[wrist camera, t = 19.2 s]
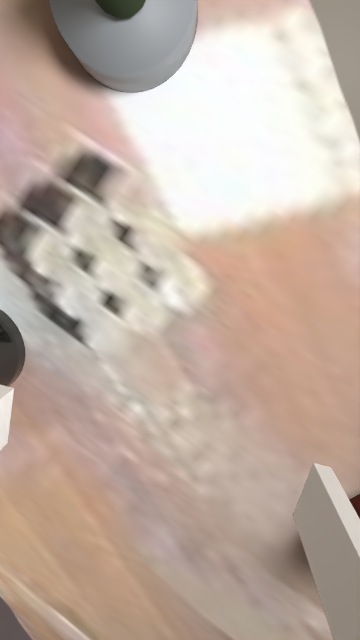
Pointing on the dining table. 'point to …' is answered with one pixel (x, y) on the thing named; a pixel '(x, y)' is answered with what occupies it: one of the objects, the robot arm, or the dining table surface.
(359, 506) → the glass decanter
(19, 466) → the dining table surface
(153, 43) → the plinth
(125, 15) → the character mug
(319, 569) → the robot arm
